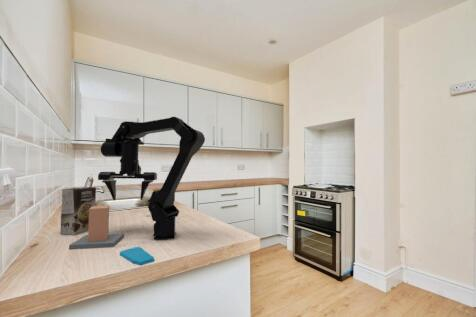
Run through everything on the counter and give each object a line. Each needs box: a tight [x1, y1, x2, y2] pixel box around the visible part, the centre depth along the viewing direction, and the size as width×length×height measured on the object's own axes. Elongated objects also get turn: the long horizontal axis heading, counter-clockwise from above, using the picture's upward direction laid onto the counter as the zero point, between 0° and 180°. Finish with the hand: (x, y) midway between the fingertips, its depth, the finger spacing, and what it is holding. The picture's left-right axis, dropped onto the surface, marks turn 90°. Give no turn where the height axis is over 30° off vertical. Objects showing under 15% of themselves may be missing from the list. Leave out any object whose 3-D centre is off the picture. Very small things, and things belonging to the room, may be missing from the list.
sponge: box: [119, 246, 156, 266], centre depth 61 cm, size 2×12×6 cm
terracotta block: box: [87, 205, 110, 242], centre depth 73 cm, size 5×5×10 cm
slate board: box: [68, 232, 125, 250], centre depth 73 cm, size 12×10×1 cm
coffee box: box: [59, 186, 97, 236], centre depth 86 cm, size 9×6×16 cm
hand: (128, 199), depth 83 cm, fingers open, 9 cm apart
